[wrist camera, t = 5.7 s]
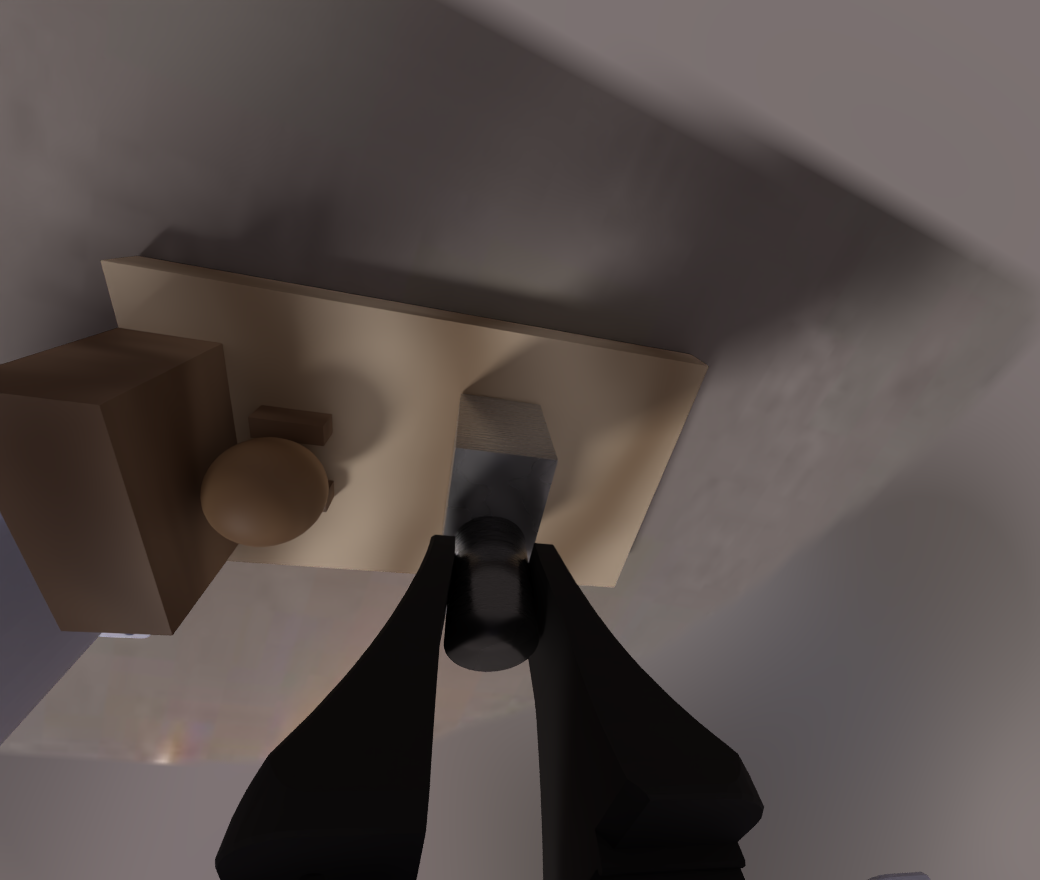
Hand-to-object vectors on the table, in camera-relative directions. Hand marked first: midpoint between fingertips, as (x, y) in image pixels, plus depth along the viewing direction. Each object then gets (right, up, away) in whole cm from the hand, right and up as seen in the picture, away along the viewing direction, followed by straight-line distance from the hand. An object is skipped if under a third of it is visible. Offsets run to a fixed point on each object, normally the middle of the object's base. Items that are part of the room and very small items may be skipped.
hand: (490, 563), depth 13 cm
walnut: (-7, +2, +1) cm, 8 cm away
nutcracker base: (-3, +3, +5) cm, 7 cm away
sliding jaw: (0, +2, +4) cm, 5 cm away
